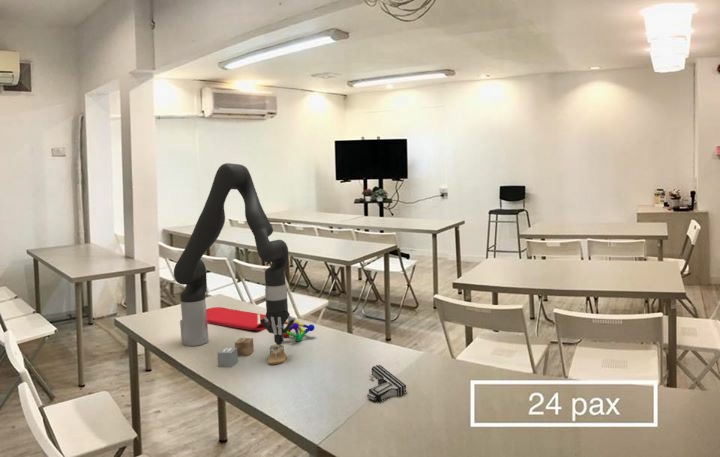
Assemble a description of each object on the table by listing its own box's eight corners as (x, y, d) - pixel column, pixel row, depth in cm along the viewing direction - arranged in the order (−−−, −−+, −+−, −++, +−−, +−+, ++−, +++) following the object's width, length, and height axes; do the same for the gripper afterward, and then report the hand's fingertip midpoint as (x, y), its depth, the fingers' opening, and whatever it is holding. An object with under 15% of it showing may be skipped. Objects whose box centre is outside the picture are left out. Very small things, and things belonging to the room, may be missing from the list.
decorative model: (298, 320, 213) (318, 318, 201) (297, 342, 211) (317, 341, 199) (270, 319, 205) (289, 317, 193) (269, 341, 203) (288, 340, 191)
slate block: (218, 366, 177) (217, 352, 177) (224, 361, 182) (223, 346, 181) (232, 367, 176) (231, 352, 176) (238, 361, 181) (237, 347, 181)
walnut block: (235, 355, 187) (234, 342, 186) (240, 350, 192) (240, 337, 191) (248, 356, 186) (247, 342, 185) (253, 351, 191) (252, 337, 190)
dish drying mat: (216, 311, 246) (216, 304, 245) (281, 323, 224) (281, 315, 223) (189, 320, 233) (189, 312, 232) (255, 334, 211) (255, 325, 210)
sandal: (268, 367, 176) (267, 353, 175) (265, 351, 191) (264, 338, 190) (287, 365, 177) (286, 351, 177) (283, 349, 192) (282, 336, 192)
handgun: (371, 395, 145) (409, 386, 150) (346, 371, 163) (380, 364, 167) (372, 405, 146) (409, 396, 150) (346, 380, 163) (380, 372, 168)
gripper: (254, 299, 179) (257, 347, 181) (291, 299, 177) (294, 348, 179) (262, 294, 186) (265, 340, 189) (297, 294, 184) (300, 340, 186)
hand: (279, 344), depth 184 cm, fingers closed
